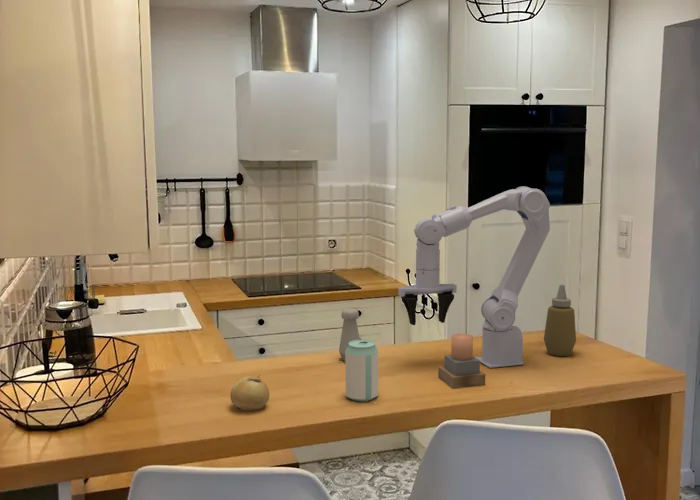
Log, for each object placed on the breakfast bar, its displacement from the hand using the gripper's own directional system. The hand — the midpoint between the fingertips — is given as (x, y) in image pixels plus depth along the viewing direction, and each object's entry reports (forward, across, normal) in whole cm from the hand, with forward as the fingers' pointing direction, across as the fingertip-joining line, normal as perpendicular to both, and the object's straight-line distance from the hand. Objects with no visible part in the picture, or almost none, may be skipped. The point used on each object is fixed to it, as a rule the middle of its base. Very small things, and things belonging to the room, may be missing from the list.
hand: (427, 322), depth 175 cm
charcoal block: (+8, -3, +14) cm, 16 cm away
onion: (+11, +46, +16) cm, 50 cm away
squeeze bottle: (+11, -36, +2) cm, 38 cm away
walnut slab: (+11, -3, +14) cm, 18 cm away
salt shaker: (+11, +17, -9) cm, 22 cm away
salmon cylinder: (+5, -3, +14) cm, 15 cm away
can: (+11, +22, +17) cm, 30 cm away
